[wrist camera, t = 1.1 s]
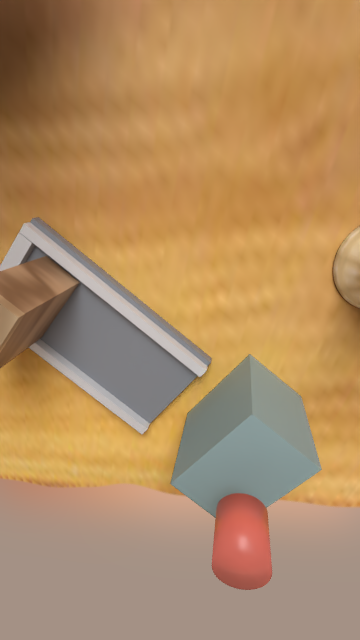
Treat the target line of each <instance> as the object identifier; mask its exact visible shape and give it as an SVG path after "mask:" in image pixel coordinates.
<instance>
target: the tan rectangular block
mask: <svg viewBox="0 0 360 640" xmlns="http://www.w3.org/2000/svg"><path fill="white" fill-rule="evenodd" d="M79 283H80V282H79V281H78V280H76V279H75V278H74V277H73V276H71V275H70V274H69V273H68V272H67V271H65V270H64V269H63V268H62V267H60V266H59V265H58V264H57V263H55V262H54V261H53V260H52V259H50V258H49V257H48V256H44V257H41V258H38V259H35V260H32V261H29V262H26V263H23V264H20V265H17V266H14V267H11V268H8V269H6V270H3V271H0V368H1V367H2V366H4V365H5V364H6V363H8V362H9V361H11V360H12V359H13V358H15V357H16V356H17V355H19V354H20V353H21V352H23V351H24V350H25V349H27V348H28V347H30V346H31V345H32V344H34V343H35V342H36V341H38V340H39V339H40V338H42V336H43V335H44V333H45V332H46V331H47V329H48V328H49V326H50V325H51V323H52V322H53V320H54V319H55V318H56V316H57V315H58V313H59V312H60V310H61V309H62V307H63V306H64V305H65V303H66V302H67V300H68V299H69V297H70V296H71V294H72V293H73V291H74V290H75V289H76V287H77V286H78V284H79Z"/></svg>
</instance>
